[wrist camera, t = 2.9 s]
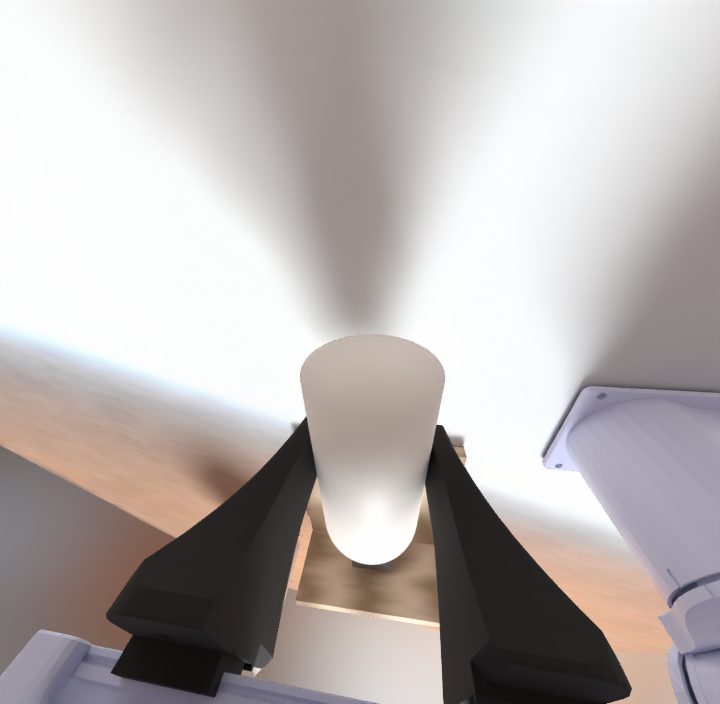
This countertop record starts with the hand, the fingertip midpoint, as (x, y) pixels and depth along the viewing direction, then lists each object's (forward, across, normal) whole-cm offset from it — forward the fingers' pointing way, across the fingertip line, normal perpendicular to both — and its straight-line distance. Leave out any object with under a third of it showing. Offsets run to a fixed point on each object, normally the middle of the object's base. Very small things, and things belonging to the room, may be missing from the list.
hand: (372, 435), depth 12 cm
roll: (+1, 0, 0) cm, 1 cm away
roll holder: (+6, 0, +16) cm, 17 cm away
